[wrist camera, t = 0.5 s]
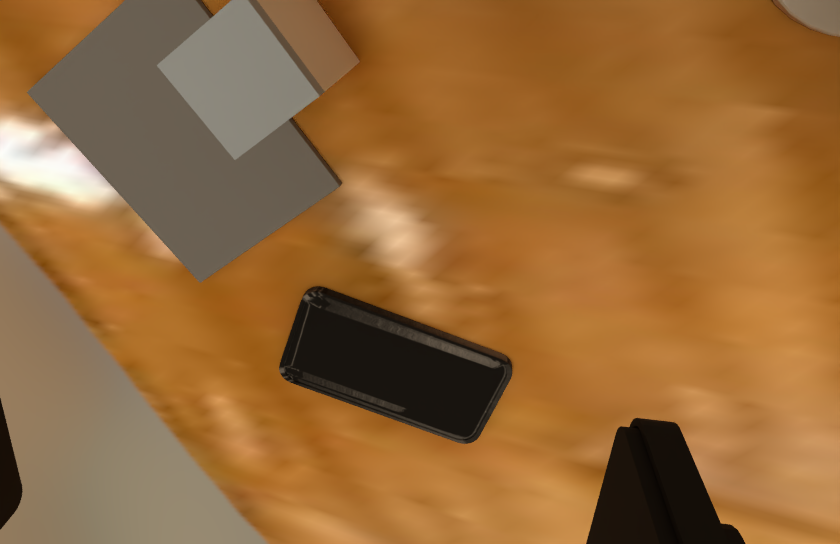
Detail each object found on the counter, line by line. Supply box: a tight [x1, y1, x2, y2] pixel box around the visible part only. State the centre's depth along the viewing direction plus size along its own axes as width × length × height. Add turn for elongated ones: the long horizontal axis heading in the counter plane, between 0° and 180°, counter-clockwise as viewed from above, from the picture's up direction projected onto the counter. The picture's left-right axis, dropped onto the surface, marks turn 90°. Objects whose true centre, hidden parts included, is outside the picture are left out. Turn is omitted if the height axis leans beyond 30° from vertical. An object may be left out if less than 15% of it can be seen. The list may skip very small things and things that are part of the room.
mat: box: [27, 0, 342, 282], centre depth 39 cm, size 12×15×1 cm
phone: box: [279, 286, 512, 444], centre depth 45 cm, size 8×1×15 cm
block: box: [157, 0, 360, 160], centre depth 32 cm, size 5×5×10 cm
